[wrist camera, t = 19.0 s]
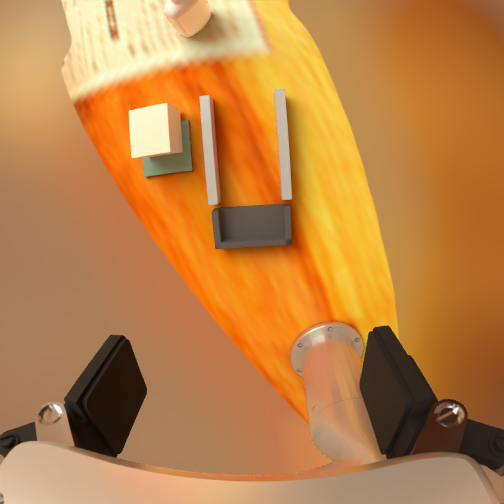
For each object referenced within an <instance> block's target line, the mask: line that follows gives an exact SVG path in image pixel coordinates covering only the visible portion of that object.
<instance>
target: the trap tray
mask: <svg viewBox="0 0 504 504" xmlns="http://www.w3.org/2000/svg"><path fill="white" fill-rule="evenodd" d="M212 221H213V230H214V239H215V248H216V249H225V248H242V247H260V246H278V245H292V236H291V210H290V205H289V204H273V205H256V206H241V207H227V208H215V209H214V210H213V211H212Z"/></svg>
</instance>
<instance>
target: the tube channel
mask: <svg viewBox="0 0 504 504" xmlns="http://www.w3.org/2000/svg"><path fill="white" fill-rule="evenodd" d="M274 103H275V115H276V129H277V142H278V157H279V173H280V190H281V198H282V200H292V190H291V171H290V154H289V139H288V125H287V113H286V101H285V89H275V90H274ZM200 109H201V123H202V137H203V149H204V161H205V173H206V184H207V194H208V204H209V205H213V204H219V202H220V201H221V192H220V180H219V169H218V157H217V144H216V131H215V117H214V103H213V99H212V98H211V96H210V95H206V96H200Z"/></svg>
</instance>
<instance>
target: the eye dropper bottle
mask: <svg viewBox="0 0 504 504" xmlns="http://www.w3.org/2000/svg"><path fill="white" fill-rule="evenodd" d="M164 15H165V16H166V18H167V19H168V20H169V22H170V23H171V24H172V26H173V27H174V28H175V30H176V31H177V32H178V33H179V34H180V35H183V36H185V37H191V36H193V35H195V34H196V33H197V32H199V31H200V30H201V29H202V28H203V27H204V26H205V25H206V24H207V22H208V21H209V19H210V16H211V9H210V7H209V4H208V2H207V0H168V1H167V3H166V5H165V8H164Z"/></svg>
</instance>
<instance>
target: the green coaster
mask: <svg viewBox="0 0 504 504" xmlns="http://www.w3.org/2000/svg"><path fill="white" fill-rule="evenodd" d="M181 133H182V146H183V152H182V153H174V154H167V155H161V156H154V157H146V158H142V160H143V170H144V177H147V176H153V175H160V174H168V173H175V172H183V171H192V170H193V165H192V154H191V142H190V128H189V120H183V121H181Z"/></svg>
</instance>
